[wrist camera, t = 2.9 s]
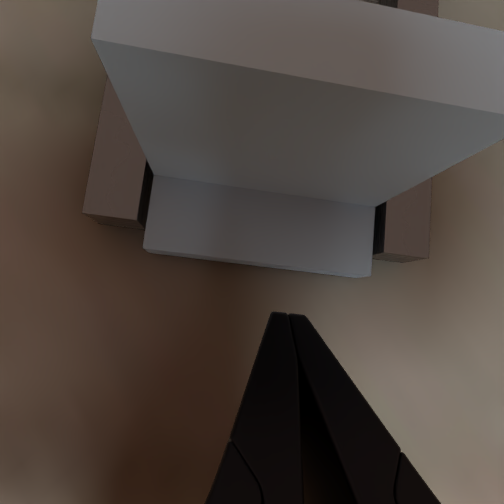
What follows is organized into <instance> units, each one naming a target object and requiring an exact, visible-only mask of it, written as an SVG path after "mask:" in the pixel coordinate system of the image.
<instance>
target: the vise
mask: <svg viewBox="0 0 504 504" xmlns="http://www.w3.org/2000/svg"><path fill="white" fill-rule="evenodd" d="M379 5H383V6H388V7H393V8H397V9H402V10H407V11H411V12H416V13H421V14H425V15H430V16H435V17H438V0H379ZM153 178H154V174H153V172H152V170H151V167H150V165H149V163H148V161H147V159H146V157H145V155H144V152H143V150H142V148H141V146H140V144H139V142H138V139H137V137H136V135H135V133H134V131H133V129H132V126H131V124H130V122H129V120H128V118H127V116H126V113H125V111H124V109H123V107H122V105H121V103H120V101H119V98H118V96H117V94H116V92H115V90H114V88H113V85H112V83H111V81H110V79H109V77H108V75H107V79H106V85H105V90H104V96H103V101H102V107H101V112H100V117H99V123H98V128H97V134H96V139H95V145H94V150H93V156H92V161H91V167H90V172H89V177H88V183H87V188H86V194H85V199H84V205H83V210H82V213H83V214H85V215H86V216H88V217H89V218H91V219H92V220H94V221H95V222H97V223H99V224H104V225H112V226H120V227H128V228H136V229H143V230H145V229H146V222H147V216H148V210H149V203H150V197H151V190H152V184H153ZM431 189H432V177H431V178H429V179H427V180H425V181H423V182H421V183H419V184H418V185H416V186H414V187H412V188H410V189H408V190H406V191H404V192H403V193H401V194H399V195H397V196H395V197H393V198H391V199H389V200H388V201H386V202H384V203H382V204H380V205H378V206H376V207H375V219H374V235H373V252H372V259H377V260H385V261H393V262H401V263H404V262H409V261H415V260H421V259H427V258H429V242H430V216H431Z"/></svg>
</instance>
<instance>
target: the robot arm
mask: <svg viewBox="0 0 504 504" xmlns="http://www.w3.org/2000/svg"><path fill="white" fill-rule="evenodd" d="M205 504H441V503H440V502H439V500H438V499H437V498H436V496H435V495H434V494H433V492H432V491H431V490H430V488H429V487H428V486H427V484H426V483H425V481H424V480H423V479H422V477H421V476H420V475H419V473H418V472H417V471H416V469H415V468H414V467H413V465H412V464H411V462H410V461H409V460H408V458H407V457H406V455H405V454H404V453H403V452H401V449H400V447H399V446H398V444H397V443H396V442H395V440H394V439H393V437H392V436H391V435H390V433H389V432H388V430H387V429H386V428H385V426H384V425H383V423H382V422H381V421H380V419H379V418H378V416H377V415H376V414H375V412H374V411H373V409H372V408H371V407H370V405H369V404H368V402H367V401H366V399H365V398H364V397H363V395H362V394H361V392H360V391H359V390H358V388H357V387H356V385H355V384H354V383H353V381H352V380H351V378H350V377H349V376H348V374H347V373H346V371H345V370H344V369H343V367H342V366H341V364H340V363H339V362H338V360H337V359H336V357H335V356H334V355H333V353H332V352H331V350H330V349H329V348H328V346H327V345H326V343H325V342H324V341H323V339H322V338H321V336H320V335H319V334H318V332H317V331H316V329H315V328H314V327H313V325H312V324H311V322H310V321H309V320H308V318H307V317H306V316H305V315H301V314H292V313H291V314H287V313H282V312H271V314H270V317H269V320H268V323H267V326H266V329H265V332H264V335H263V338H262V341H261V344H260V347H259V350H258V353H257V356H256V359H255V362H254V365H253V368H252V371H251V374H250V377H249V380H248V383H247V386H246V389H245V392H244V395H243V398H242V401H241V404H240V407H239V410H238V413H237V416H236V419H235V422H234V425H233V428H232V431H231V434H230V437H229V440H228V442H227V445H226V448H225V451H224V454H223V457H222V460H221V463H220V466H219V468H218V471H217V474H216V476H215V479H214V482H213V484H212V487H211V490H210V492H209V495H208V497H207V499H206V501H205Z"/></svg>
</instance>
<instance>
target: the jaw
mask: <svg viewBox="0 0 504 504" xmlns="http://www.w3.org/2000/svg"><path fill="white" fill-rule="evenodd" d="M91 40H92V42H93V44H94V47H95V49H96V51H97V53H98V55H99V57H100V60H101V62H102V64H103V66H104V68H105V70H106V72H107V75H108V77H109V79H110V81H111V83H112V85H113V88H114V90H115V92H116V94H117V96H118V98H119V101H120V103H121V105H122V107H123V109H124V111H125V113H126V116H127V118H128V120H129V122H130V124H131V126H132V129H133V131H134V133H135V135H136V137H137V139H138V142H139V144H140V146H141V148H142V150H143V152H144V155H145V157H146V159H147V161H148V163H149V165H150V167H151V170H152V172H153V174H154V178H153V184H152V190H151V197H150V203H149V210H148V216H147V222H146V229H145V235H144V242H143V249H145V250H146V251H147V252H149V253H155V254H163V255H172V256H180V257H188V258H196V259H205V260H213V261H221V262H229V263H238V264H246V265H254V266H262V267H271V268H279V269H287V270H295V271H304V272H312V273H320V274H328V275H336V276H345V277H353V278H359V277H367V276H371V268H372V252H373V235H374V219H375V207H376V206H378V205H380V204H382V203H384V202H386V201H388V200H389V199H391V198H393V197H395V196H397V195H399V194H401V193H403V192H404V191H406V190H408V189H410V188H412V187H414V186H416V185H418V184H419V183H421V182H423V181H425V180H427V179H429V178H431V177H433V176H434V175H436V174H438V173H440V172H442V171H444V170H446V169H448V168H450V167H451V166H453V165H455V164H457V163H459V162H461V161H463V160H465V159H466V158H468V157H470V156H472V155H474V154H476V153H478V152H480V151H481V150H483V149H485V148H487V147H489V146H491V145H493V144H495V143H496V142H498V141H500V140H502V139H504V31H501V30H496V29H491V28H486V27H482V26H477V25H472V24H468V23H463V22H458V21H454V20H449V19H444V18H439V17H435V16H430V15H425V14H421V13H416V12H411V11H407V10H402V9H397V8H393V7H388V6H383V5H378V4H374V3H369V2H364V1H360V0H98V3H97V8H96V13H95V18H94V24H93V29H92V34H91Z"/></svg>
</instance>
